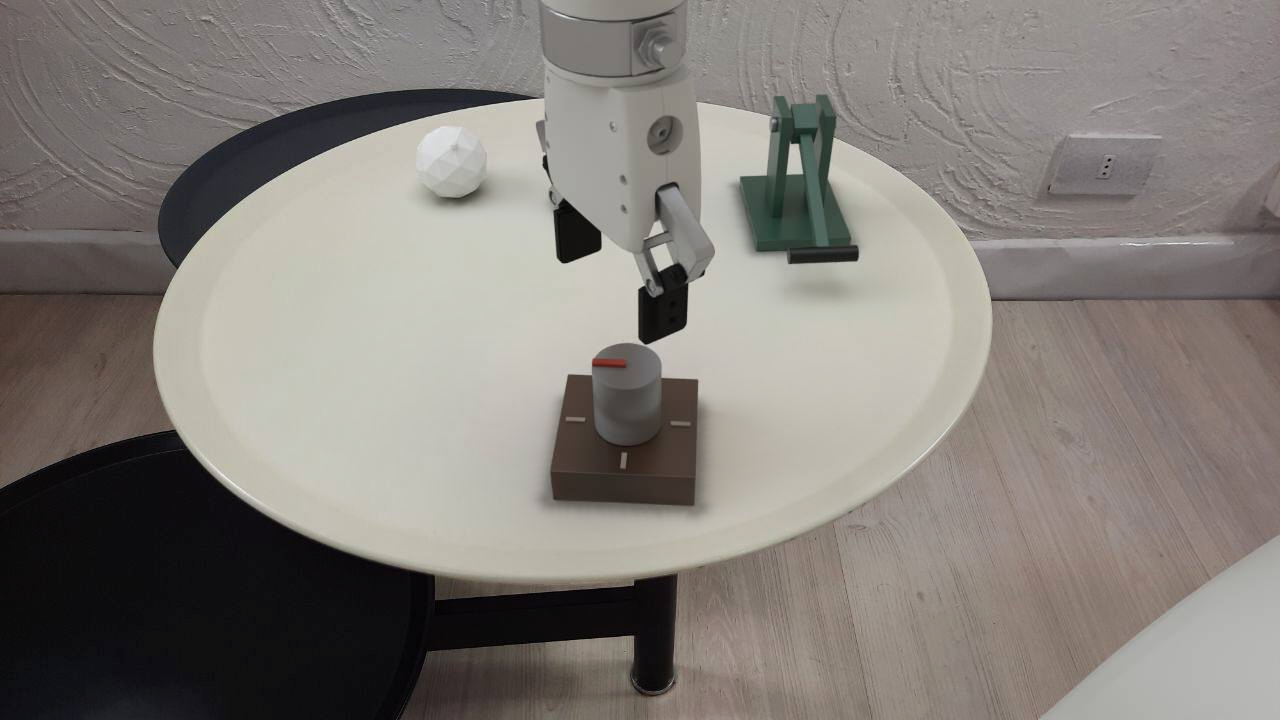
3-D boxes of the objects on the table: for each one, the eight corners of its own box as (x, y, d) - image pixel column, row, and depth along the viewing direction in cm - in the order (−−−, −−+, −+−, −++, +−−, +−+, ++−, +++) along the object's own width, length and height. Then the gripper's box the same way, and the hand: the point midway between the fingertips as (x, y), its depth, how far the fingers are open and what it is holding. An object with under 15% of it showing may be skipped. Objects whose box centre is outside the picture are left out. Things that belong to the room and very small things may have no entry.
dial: (662, 400, 69) (663, 340, 65) (659, 447, 65) (659, 387, 62) (598, 397, 69) (595, 338, 65) (591, 444, 66) (587, 384, 62)
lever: (854, 267, 82) (861, 253, 80) (787, 269, 82) (791, 256, 80) (829, 118, 89) (835, 102, 86) (767, 120, 88) (770, 104, 86)
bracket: (850, 247, 89) (869, 135, 81) (756, 251, 89) (766, 138, 81) (824, 182, 98) (839, 76, 90) (739, 186, 98) (746, 79, 90)
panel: (697, 406, 73) (698, 377, 71) (694, 506, 65) (695, 476, 63) (569, 401, 73) (567, 372, 71) (552, 499, 66) (549, 469, 64)
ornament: (497, 172, 100) (505, 138, 92) (455, 222, 98) (460, 192, 90) (444, 132, 100) (447, 95, 92) (400, 182, 97) (400, 147, 90)
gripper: (778, 72, 44) (750, 346, 55) (589, -35, 55) (598, 212, 66) (646, 114, 41) (645, 394, 52) (472, -9, 52) (503, 246, 63)
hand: (619, 293), depth 59 cm, fingers open, 9 cm apart
